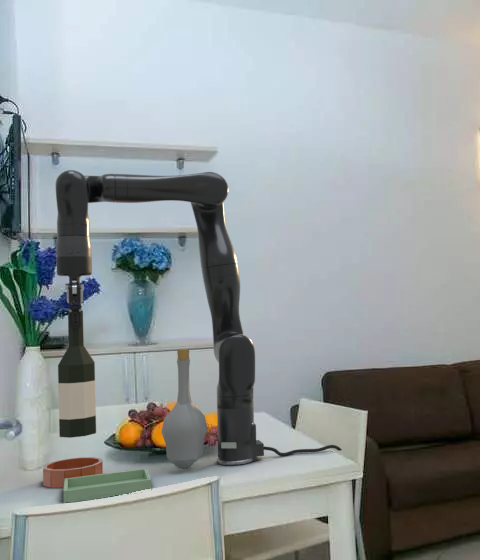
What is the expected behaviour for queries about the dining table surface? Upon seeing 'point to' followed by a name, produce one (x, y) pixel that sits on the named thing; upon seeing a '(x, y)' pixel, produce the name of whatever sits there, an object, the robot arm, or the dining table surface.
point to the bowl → (70, 470)
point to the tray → (105, 485)
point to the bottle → (184, 422)
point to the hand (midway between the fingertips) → (75, 327)
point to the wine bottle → (76, 387)
